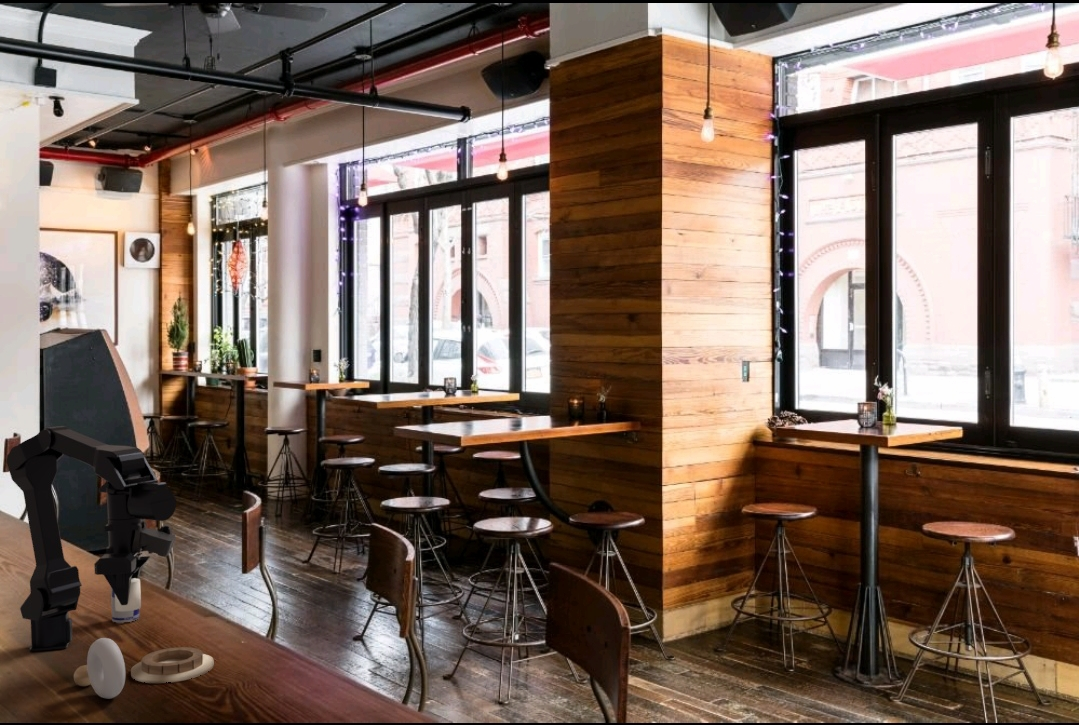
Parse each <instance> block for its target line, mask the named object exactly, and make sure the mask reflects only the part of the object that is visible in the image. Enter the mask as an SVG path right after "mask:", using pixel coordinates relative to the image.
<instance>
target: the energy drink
mask: <svg viewBox="0 0 1079 725" xmlns="http://www.w3.org/2000/svg"><path fill="white" fill-rule="evenodd" d="M110 597H111V598H110V600H111V621H112V622H113V623H114V622H117V623H116V624H123V623H122V622H130V623H132V622H131V621H134V622H136V621H137V619H138V620H139V618H140V608H139V609H137V610H133V611H124V612H121V611H116V610H115V593H114V591H113V589H112V588H111V587H110ZM135 620H136V621H135Z"/></svg>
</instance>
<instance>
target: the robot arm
mask: <svg viewBox="0 0 1079 725" xmlns="http://www.w3.org/2000/svg"><path fill="white" fill-rule="evenodd" d="M64 456H67V457H68V458H69V457H70V458H72V459H74V460H76V461H79V462H81V463H84V464H86V465H88V466H91V468H92V469H93V471H94V474H95V475H97V476H98V477H99V478H101V479H102V480H104V481H105V482H104V483H103V484H102V485H100V487H99V488H98V492H99V493H106V501H107V503H106V505H107V524H106V525H105V526H104V532H108V546H107V547H106V548H105V553H104V554H103V555H102V556H101V557H99V559H98V560H97V561H95V563H94V565H93V566H94V575H97V576H98V575H99V576H100V575H102V576H103V577H104V578H105V580H106V581H107V583H108V584H109V586H110V589H111V588H112V589H113V591H114V593H115V595H116V597H117V598H118V600H119V602H120V604H121V605H127V604H128V600H129V593H130V585H131V578H137V579H140V574H141V570H142V567H143V566H144V565H145V564H146V563H147V562H148V561H149V560H150V559H151V556H145V555H143V553H142V552H147V553H148V554H156V555H157V556H159V557H163V558H166V557H168V555H169V554H171V552H172V549H173V546H174V544H175V542H176V534H174V533H173V529H172V528H173V527H172V526H170V525H167V524H163V525H162V526H161V527H160V528H159V529H157V528H154V529H153V528H148V527H147V521H145V520H148V521H149V520H150V521H158V522H164V521H168V520H169V519H171V517H172V516H173V515H174V514H175V511H176V508H177V499H176V497H175V495H174V493H173V492H172V491H171V490H169V488H168V487H167V483H166V481H165V482H161V481H160V482H159V481H158V479H157V477H156V473H155V471H153V469H152V468H151V466H150V464H149V462H148V461H147V459H146V456H145V455H144V452H143V450H141V449H140V448H139V447H136V446H135V447H134V446H129V445H112V444H108V443H104V442H102V441H99V440H97V439H95V438H92V437H89V436H87V435H85V434H82V433H79V432H77V431H74V430H72V429H71V428H70V427H68V426H65V425H61V426H60V425H58V426H51V427H45V428H44V429H41V430H40V431H39V432H38V433H36V435H34V436H31V437H30V438H28V439H25V440H24V441H22V442H20V443H18V444H17V445H15V446H13V447H12V448H11V449H10V451H9V453H8V454H7V456H6V465H7V469H8V470H9V475H10V477H11V480H12V481H13V483H14V484H15V485H16V486H17V487H19V489H20V490H21V491H22V492H23V493H22V494H23V498H24V504H25V509H26V513H27V514H26V515H27V521H28V525H29V532H30V537H31V538H30V539H31V543H32V549H33V555H34V561H35V568H34V570H33V572H32V575H31V577H30V580H29V590H30V592H29V593H30V594H29V595H28V596H27V598H26V599H25V601H24V602H23V603H22V604H21V606H20V609H19V610H20V612H21V617H22V619H24V620H25V619H26V620H29V621H30V637H31V646H30V647H29V652H40V651H49V650H50V651H51V650H52V651H53V650H63V649H66V648H68V646H69V644H70V643H71V642H72V640H73V618H72V617H70V616H69V615H70V614H69V613H70V612H72V611H76V610H77V608H78V603H79V598H80V596H81V587H82V586H83V585H82V582H81V581H80V580H81V579H80V573H79V568H78V567H77V566H76V565H74V566H71V565H70V564H69V562H67V560H66V559H65V555H64V550H63V545H62V539H61V534H60V527H59V522H58V515H57V510H56V506H55V505H56V504H55V499H54V494H53V488H52V485H54V484H53V483H54V481H55V478H56V476H57V473H58V461H59V460H60V459H61V458H62V457H64Z"/></svg>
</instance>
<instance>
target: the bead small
mask: <svg viewBox="0 0 1079 725" xmlns="http://www.w3.org/2000/svg"><path fill="white" fill-rule="evenodd" d="M73 680H74V682H75V684H76V685H78V686H80V687H87V686H90V685H91V682H90V680H89V676H88V670H87V664H85V665H84V664H83V665H80V666H79V667H77V669H76V670H74V673H73Z"/></svg>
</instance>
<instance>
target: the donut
mask: <svg viewBox="0 0 1079 725" xmlns="http://www.w3.org/2000/svg"><path fill="white" fill-rule="evenodd" d="M87 652H88V653H87V655H86V656H87V657H86V665H87V670H88V676H89V680H90V682H91V684H90V685H91V687H92V688H93V690H94V692H95V693H96V694H97V695H98V697H100V698H103V699H108V700H110V699H113V698H116V697H117V696H119V695H120V693H121V692H122V690H123V688H124V687H125V682H126V663H125V660H124V655H123V654H122V651H121V649H120V647H119V645H118V644H117V643H116V642H115V641H114V640H113V639H111V638H108V637H100V638H98V639H96V640H95V641H94V642H92V643H91V645H90V647H89V649H88V651H87Z"/></svg>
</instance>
